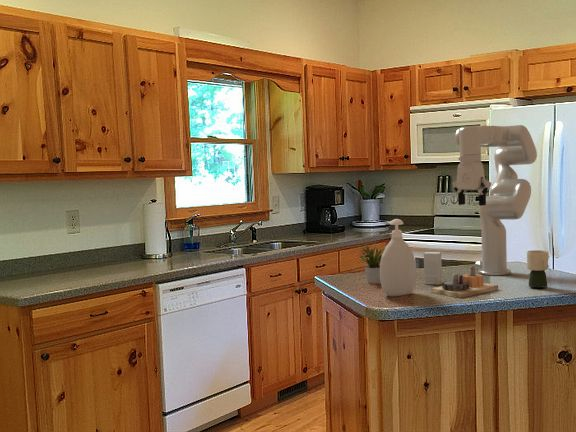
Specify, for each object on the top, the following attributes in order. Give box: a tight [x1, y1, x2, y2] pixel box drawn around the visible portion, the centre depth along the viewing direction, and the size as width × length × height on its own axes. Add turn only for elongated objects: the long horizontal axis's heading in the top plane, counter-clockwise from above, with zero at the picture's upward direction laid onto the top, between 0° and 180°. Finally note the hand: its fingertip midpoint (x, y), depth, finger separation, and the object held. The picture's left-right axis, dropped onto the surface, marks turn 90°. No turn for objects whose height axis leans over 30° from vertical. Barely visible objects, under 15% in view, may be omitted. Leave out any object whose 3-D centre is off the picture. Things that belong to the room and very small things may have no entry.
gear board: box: [430, 265, 499, 299], centre depth 210 cm, size 13×20×8 cm, turn 122°
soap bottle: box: [379, 218, 417, 298], centre depth 208 cm, size 14×8×27 cm, turn 113°
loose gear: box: [462, 273, 484, 287], centre depth 212 cm, size 7×7×4 cm
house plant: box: [356, 243, 386, 284], centre depth 233 cm, size 14×14×16 cm
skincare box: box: [423, 251, 443, 286], centre depth 225 cm, size 6×4×12 cm
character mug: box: [526, 249, 550, 289], centre depth 210 cm, size 11×7×13 cm, turn 8°
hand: (472, 204), depth 223 cm, fingers open, 9 cm apart
